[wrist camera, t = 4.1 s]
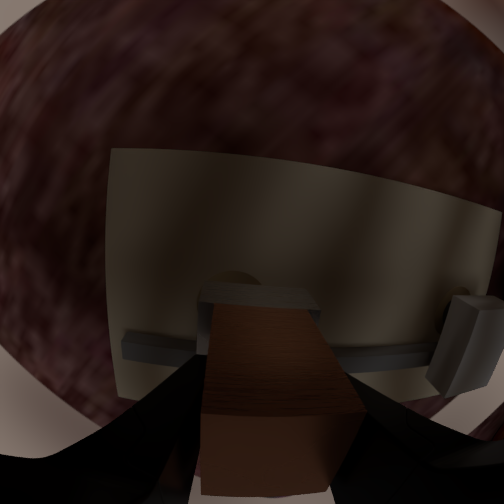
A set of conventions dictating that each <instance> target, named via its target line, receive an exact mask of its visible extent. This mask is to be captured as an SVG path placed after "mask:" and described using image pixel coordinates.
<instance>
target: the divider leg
mask: <svg viewBox="0 0 504 504" xmlns="http://www.w3.org/2000/svg"><path fill="white" fill-rule="evenodd" d="M320 314H321V309H320V308H319V306H318V305H317V303H316V302H315V301H314V299H313V298H312V296H311V295H310V294H309V292H308V291H307V290H306V289H305V288H291V287H277V286H264V285H252V284H240V283H228V282H217V281H206V280H204V284H203V287H202V291H201V294H200V298H199V302H198V323H197V350H196V354H201V355H207V363H206V371H205V379H204V388H203V397H202V406H201V427H200V464H201V495H210V496H228V497H271V496H289V495H301V494H310V493H318V492H325V491H326V490H327V489H328V487H329V485H330V484H331V482H332V480H333V479H334V477H335V475H336V473H337V471H338V470H339V468H340V466H341V464H342V462H343V460H344V459H345V457H346V455H347V453H348V451H349V449H350V447H351V445H352V443H353V441H354V439H355V437H356V435H357V433H358V430H359V428H360V426H361V424H362V422H363V420H364V417H365V415H366V413H367V409H366V408H365V406H364V404H363V403H362V401H361V399H360V397H359V396H358V394H357V392H356V391H355V389H354V387H353V386H352V384H351V382H350V380H349V379H348V377H347V375H346V374H345V372H344V370H343V369H342V367H341V365H340V364H339V362H338V360H337V359H336V357H335V355H334V353H333V352H332V350H331V348H330V347H329V345H328V343H327V342H326V340H325V338H324V337H323V335H322V333H321V332H320V330H319V328H318V324H319V319H320Z"/></svg>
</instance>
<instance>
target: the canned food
mask: <svg viewBox="0 0 504 504" xmlns="http://www.w3.org/2000/svg"><path fill="white" fill-rule="evenodd" d="M503 439H504V424H503V425H502V426H501V428H500V429H499V430H498V432H497V433H496V435H495V436H494V438H493V440H492V441H499V440H503Z"/></svg>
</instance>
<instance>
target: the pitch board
mask: <svg viewBox="0 0 504 504" xmlns="http://www.w3.org/2000/svg"><path fill="white" fill-rule="evenodd" d="M501 217H502V212H500V211H497V210H494V209H491V208H488V207H485V206H482V205H479V204H476V203H473V202H470V201H467V200H464V199H460V198H457V197H454V196H450V195H447V194H444V193H440V192H437V191H433V190H429V189H426V188H422V187H418V186H414V185H410V184H406V183H402V182H398V181H394V180H390V179H385V178H381V177H376V176H372V175H367V174H362V173H357V172H352V171H347V170H342V169H336V168H331V167H325V166H319V165H313V164H307V163H301V162H294V161H287V160H280V159H273V158H265V157H256V156H248V155H238V154H228V153H217V152H204V151H189V150H171V149H142V148H112V149H111V157H110V166H109V177H108V189H107V205H106V230H105V270H106V295H107V311H108V323H109V334H110V343H111V351H112V359H113V366H114V373H115V379H116V385H117V391H118V396H119V397H123V398H128V399H134V400H141V399H142V398H143V397H144V396H146V395H147V394H148V393H149V392H150V391H152V390H153V389H154V388H155V387H157V386H158V385H159V384H160V383H161V382H163V381H164V380H165V379H166V378H167V377H169V376H170V375H171V374H172V373H173V372H175V371H176V370H177V369H178V368H179V367H181V366H182V365H183V364H184V363H185V362H187V361H188V360H189V359H190V358H191V357H192V356H194V355H195V354H196V350H197V323H198V302H199V298H200V294H201V291H202V287H203V284H204V280H206V281H217V282H228V283H240V284H252V285H264V286H277V287H291V288H305V289H306V290H307V291H308V292H309V294H310V295H311V296H312V298H313V299H314V301H315V302H316V303H317V305H318V306H319V308H320V309H321V314H320V319H319V324H318V328H319V330H320V332H321V333H322V335H323V337H324V338H325V340H326V342H327V343H328V345H329V347H330V348H331V350H332V352H333V353H334V355H335V357H336V359H337V360H338V362H339V364H340V365H341V367H342V369H343V370H344V372H346V373H348V374H349V375H351V376H353V377H355V378H356V379H358V380H360V381H361V382H363V383H365V384H366V385H368V386H370V387H372V388H373V389H375V390H377V391H378V392H380V393H382V394H384V395H385V396H387V397H389V398H391V399H393V400H394V401H396V402H398V403H399V402H405V401H410V400H415V399H420V398H425V397H430V396H434V395H438V394H441V395H442V396H443V398H447V397H451V396H455V395H458V394H462V393H465V392H468V391H472V390H475V389H478V388H481V387H484V386H486V385H487V384H488V382H489V380H490V378H491V376H492V373H493V371H494V369H495V367H496V365H497V362H498V360H499V357H500V355H501V353H502V350H503V348H504V301H503V300H501V299H499V298H497V297H495V296H486V293H487V289H488V285H489V281H490V277H491V273H492V269H493V264H494V259H495V254H496V249H497V243H498V238H499V231H500V224H501Z"/></svg>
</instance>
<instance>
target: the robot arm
mask: <svg viewBox="0 0 504 504" xmlns="http://www.w3.org/2000/svg"><path fill="white" fill-rule="evenodd" d="M206 363H207V355H201V354H195V355H194V356H192V357H191V358H190V359H189V360H188V361H187V362H185V363H184V364H183V365H182V366H181V367H179V368H178V369H177V370H176V371H175V372H173V373H172V374H171V375H170V376H169V377H167V378H166V379H165V380H164V381H163V382H161V383H160V384H159V385H158V386H157V387H155V388H154V389H153V390H152V391H150V392H149V393H148V394H147V395H146V396H144V397H143V398H142V399H141V400H139V401H138V402H137V403H136V404H134V405H133V406H132V408H129V409H128V410H127V411H125V412H124V413H123V414H122V415H120V416H119V417H117V418H116V419H115V420H113V421H112V422H110V423H109V424H107V425H106V426H104V427H103V428H101V429H100V430H98V431H96V432H94V433H93V434H91V435H89V436H87V437H86V438H84V439H82V440H80V441H78V442H77V443H75V444H73V445H71V446H69V447H67V448H65V449H63V450H62V451H60V452H58V453H56V454H53V455H50V456H47V457H43V458H23V457H15V456H8V455H2V454H0V504H188V500H189V496H190V492H191V486H192V482H193V478H194V473H195V469H196V464H197V460H198V455H199V451H200V427H201V406H202V397H203V388H204V379H205V371H206ZM345 374H346V375H347V377H348V379H349V380H350V382H351V384H352V386H353V387H354V389H355V391H356V392H357V394H358V396H359V397H360V399H361V401H362V403H363V404H364V406H365V408H366V409H367V413H366V415H365V417H364V420H363V422H362V424H361V426H360V428H359V430H358V433H357V435H356V437H355V439H354V441H353V443H352V445H351V447H350V449H349V451H348V453H347V455H346V457H345V459H344V460H343V462H342V464H341V466H340V468H339V470H338V471H337V473H336V475H335V477H334V479H333V480H332V482H331V484H330V487H331V491H332V494H333V497H334V501H335V504H504V439H503V440H499V441H483V440H479V439H476V438H473V437H471V436H468V435H465V434H463V433H460V432H458V431H455V430H453V429H450V428H448V427H446V426H443V425H441V424H439V423H436V422H434V421H432V420H430V419H428V418H426V417H424V416H422V415H420V414H418V413H416V412H414V411H412V410H411V409H409V408H407V409H406V407H405V406H403V405H401V404H400V403H398V402H396V401H394V400H393V399H391V398H389V397H387V396H385V395H384V394H382V393H380V392H378V391H377V390H375V389H373V388H372V387H370V386H368V385H366V384H365V383H363V382H361V381H360V380H358V379H356V378H355V377H353V376H351V375H349V374H348V373H346V372H345Z"/></svg>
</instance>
